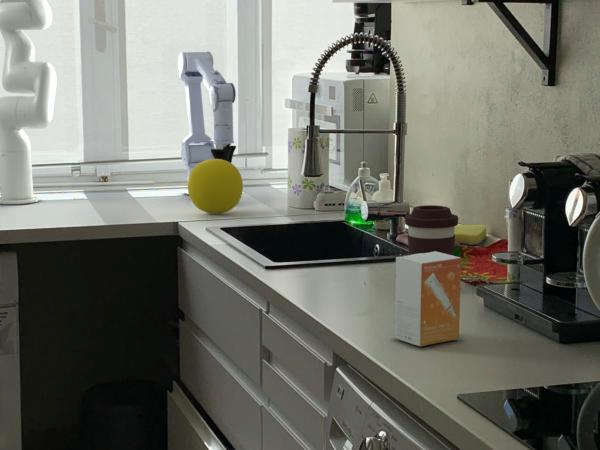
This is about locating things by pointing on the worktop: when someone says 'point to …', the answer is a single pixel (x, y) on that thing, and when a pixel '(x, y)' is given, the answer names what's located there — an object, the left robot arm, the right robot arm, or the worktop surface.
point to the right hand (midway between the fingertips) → (224, 171)
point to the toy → (215, 186)
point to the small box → (427, 298)
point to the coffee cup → (431, 230)
